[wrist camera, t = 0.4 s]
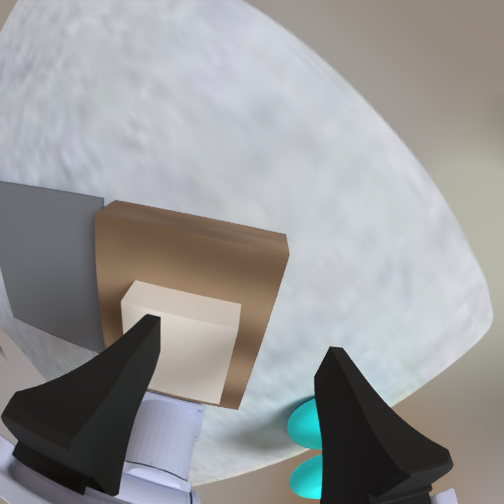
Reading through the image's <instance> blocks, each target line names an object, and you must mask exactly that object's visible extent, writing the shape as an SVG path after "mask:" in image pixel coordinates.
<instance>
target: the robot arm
mask: <svg viewBox="0 0 504 504" xmlns="http://www.w3.org/2000/svg"><path fill="white" fill-rule="evenodd" d="M160 352H161V317H159V316H155V315H151V314H146V315H144V316H143V317H142V318H141V319H140V320H139V321H138V322H137V323H136V324H135V325H134V326H133V327H132V328H130V329H129V330H128V331H127V332H126V333H125V334H124V335H122V336H121V337H120V338H119V339H118V340H117V341H115V342H114V343H113V344H112V345H110V346H109V347H108V348H106V349H105V350H104V351H103V352H101V353H100V354H99V355H97V356H96V357H94V358H93V359H91V360H90V361H88V362H87V363H85V364H83V365H82V366H80V367H78V368H76V369H75V370H73V371H71V372H69V373H67V374H65V375H63V376H61V377H59V378H56V379H54V380H52V381H49V382H47V383H44V384H42V385H39V386H36V387H32V388H29V389H25V390H22V391H17V392H16V393H15V394H14V395H13V397H12V398H11V399H10V401H9V403H8V405H7V406H6V408H5V410H4V411H3V413H2V415H1V418H2V421H3V423H4V424H5V426H6V427H7V428H8V429H9V430H10V432H11V433H12V434H13V435H14V436H15V437H16V438H17V440H18V443H17V445H16V446H15V445H14V444H13V443H12V442H11V441H9V440H8V439H6V438H5V437H4V436H2V435H1V434H0V497H1V498H2V499H4V500H5V501H6V502H8V503H9V504H201V500H200V498H199V496H198V495H197V493H196V492H195V491H194V490H191V484H192V483H191V482H188V476H189V470H190V464H191V458H192V453H193V447H194V442H195V441H198V439H199V433H200V428H201V422H202V417H203V412H204V406H203V405H201V404H197V403H192V402H188V401H183V400H179V399H175V398H171V397H167V396H163V395H159V394H155V393H152V392H148V391H146V390H147V388H148V386H149V383H150V381H151V379H152V376H153V374H154V372H155V369H156V365H157V362H158V358H159V355H160ZM314 390H315V402H316V408H317V414H318V420H319V427H320V433H321V440H322V488H321V499H320V504H458V503H457V499H456V495H455V492H454V489H453V488H451V489H448V490H446V491H443V492H440V493H438V494H435V495H433V496H431V497H430V496H429V492H430V491H432V486H431V483H433V482H435V481H436V480H438V479H439V478H441V477H442V476H444V475H445V474H446V473H448V472H449V471H450V470H451V469H452V467H453V462H452V459H451V456H450V453H449V450H447V449H446V448H444V447H442V446H440V445H439V444H437V443H435V442H433V441H431V440H430V439H428V438H427V437H425V436H424V435H422V434H421V433H419V432H418V431H417V430H415V429H414V428H413V427H411V426H410V425H409V424H407V423H406V422H405V421H404V420H403V419H402V418H401V417H399V416H398V415H397V414H396V413H395V412H394V411H393V410H392V409H391V408H390V407H389V406H388V405H387V404H386V403H385V402H384V401H383V399H382V398H381V397H380V396H379V395H378V394H377V392H376V391H375V390H374V389H373V388H372V386H371V385H370V384H369V383H368V381H367V380H366V379H365V377H364V376H363V375H362V373H361V372H360V371H359V369H358V368H357V367H356V365H355V364H354V362H353V361H352V360H351V358H350V357H349V355H348V354H347V353H346V351H345V350H344V349H343V348H340V347H331V346H330V347H329V349H328V351H327V353H326V355H325V357H324V359H323V361H322V363H321V365H320V367H319V369H318V371H317V372H316V374H315V376H314Z"/></svg>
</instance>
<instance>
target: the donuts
mask: <svg viewBox="0 0 504 504" xmlns="http://www.w3.org/2000/svg"><path fill="white" fill-rule="evenodd" d="M287 431H288V434H289V436H290V438H291V439H292V440H293V441H294V442H295V443H297V444H298V445H300V446H303V447H305V448H310V449H321V450H322V440H321V433H320V427H319V420H318V414H317V408H316V402H315V398H314V399H312V400H310V401H308V402H306V403H304V404H302V405H301V406H300V407H298V408H297V409H296V410H295V411H294V412H293V413H292V414H291V416H290V418H289V420H288V423H287ZM289 485H290V488H291V489H292V491H293V492H294V493H295V494H297V495H299V496H301V497H305V498H313V499H321V488H322V454H321V455H318V456H316V457H314V458H311V459H309V460H307V461H305V462H304V463H302V464H301V465H299V466H298V467H297V468H296V469H295V470H294V471H293V473H292V474H291V476H290V480H289Z"/></svg>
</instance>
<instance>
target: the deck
mask: <svg viewBox="0 0 504 504" xmlns="http://www.w3.org/2000/svg"><path fill="white" fill-rule="evenodd" d="M289 255H290V254H289V249H288V243H287V238H286V234H281V233H276V232H272V231H267V230H263V229H258V228H253V227H249V226H244V225H239V224H235V223H230V222H225V221H220V220H215V219H211V218H206V217H201V216H196V215H191V214H186V213H181V212H176V211H171V210H165V209H160V208H155V207H150V206H145V205H139V204H134V203H129V202H123V201H118V200H115V201H114V202H112V203H111V204H109V205H107V206H106V207H104V208H103V209H101V210H100V211H98V212H97V213H95V256H96V273H97V285H98V296H99V305H100V314H101V321H102V328H103V335H104V341H105V347H106V348H108V347H109V346H110V345H112V344H113V343H114V342H115V341H117V340H118V339H119V338H120V337H121V336H122V335H123V324H122V311H121V300H122V299H123V297H124V296H125V294H126V293H127V291H128V290H129V289H130V287H131V286H132V284H133V283H134V281H135V280H137V281H141V282H145V283H149V284H153V285H157V286H161V287H165V288H170V289H174V290H178V291H183V292H187V293H191V294H196V295H200V296H205V297H210V298H214V299H219V300H224V301H229V302H234V303H239V304H241V311H240V320H239V329H238V333H237V337H236V341H235V344H234V348H233V352H232V356H231V360H230V364H229V368H228V372H227V376H226V379H225V383H224V387H223V391H222V395H221V399H220V403H219V404H214V403H209V402H204V401H199V400H194V399H190V398H185V397H181V396H177V395H173V394H168V393H165V392H161V391H157V390H153V389H150V388H147V390H149V391H152V392H156V393H160V394H164V395H168V396H172V397H176V398H180V399H184V400H189V401H193V402H198V403H203V404H208V405H213V406H218V407H224V408H230V409H236V410H238V408H239V406H240V403H241V400H242V397H243V395H244V392H245V389H246V386H247V383H248V380H249V378H250V375H251V372H252V369H253V366H254V363H255V360H256V357H257V354H258V352H259V349H260V346H261V343H262V340H263V337H264V334H265V331H266V328H267V325H268V322H269V319H270V315H271V312H272V309H273V306H274V303H275V300H276V297H277V294H278V290H279V287H280V284H281V281H282V278H283V275H284V271H285V268H286V265H287V261H288V258H289Z"/></svg>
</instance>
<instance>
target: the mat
mask: <svg viewBox="0 0 504 504" xmlns="http://www.w3.org/2000/svg"><path fill="white" fill-rule="evenodd" d="M103 208H104V198H101V197H95V196H90V195H84V194H78V193H72V192H66V191H60V190H54V189H48V188H42V187H36V186H29V185H23V184H16V183H10V182H3V181H0V267H1V272H2V276H3V280H4V284H5V288H6V292H7V295H8V299H9V302H10V306H11V309H12V312H13V315H14V317H15V318H17V319H19V320H21V321H23V322H25V323H27V324H29V325H31V326H34V327H36V328H38V329H40V330H42V331H45V332H47V333H49V334H52V335H54V336H56V337H59V338H61V339H64V340H66V341H69V342H71V343H74V344H76V345H79V346H81V347H84V348H87V349H90V350H92V351H95V352H98V353H101V352H103V351H104V350H105V349H106V347H105V341H104V335H103V328H102V321H101V314H100V305H99V296H98V285H97V273H96V256H95V213H97V212H98V211H100V210H101V209H103Z"/></svg>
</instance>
